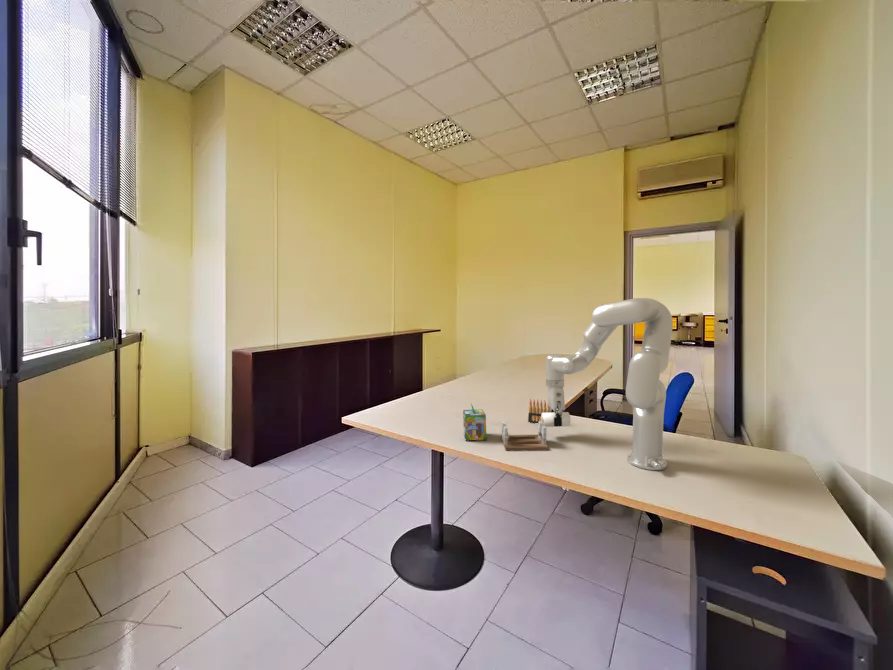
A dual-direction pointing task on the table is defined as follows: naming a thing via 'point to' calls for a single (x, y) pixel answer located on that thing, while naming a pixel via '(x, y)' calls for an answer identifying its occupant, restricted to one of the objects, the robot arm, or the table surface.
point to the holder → (524, 439)
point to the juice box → (474, 424)
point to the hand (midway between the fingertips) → (555, 423)
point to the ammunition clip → (536, 411)
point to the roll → (549, 419)
